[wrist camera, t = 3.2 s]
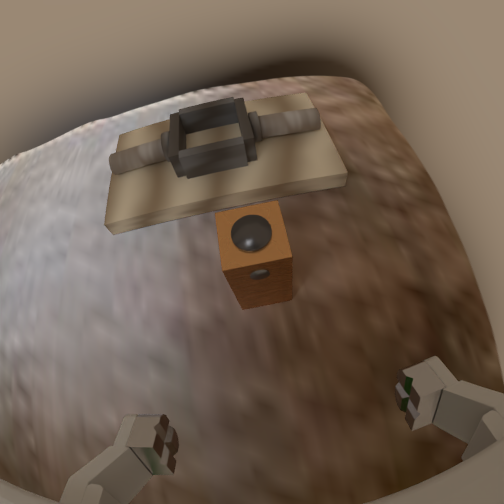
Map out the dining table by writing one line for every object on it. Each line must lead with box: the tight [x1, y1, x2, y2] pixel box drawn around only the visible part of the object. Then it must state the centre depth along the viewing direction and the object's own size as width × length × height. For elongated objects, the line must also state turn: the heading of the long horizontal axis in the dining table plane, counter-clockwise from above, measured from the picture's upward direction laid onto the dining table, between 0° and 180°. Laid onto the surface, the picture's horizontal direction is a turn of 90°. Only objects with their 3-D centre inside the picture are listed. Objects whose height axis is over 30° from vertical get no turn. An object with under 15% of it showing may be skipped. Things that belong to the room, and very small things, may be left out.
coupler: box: [215, 200, 292, 310], centre depth 21 cm, size 4×4×8 cm
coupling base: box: [104, 93, 348, 235], centre depth 30 cm, size 24×14×5 cm, turn 100°
